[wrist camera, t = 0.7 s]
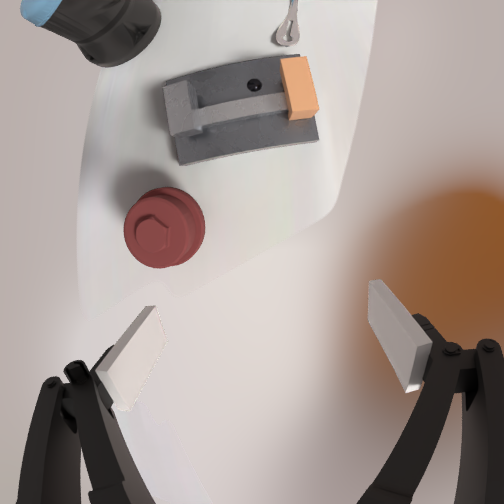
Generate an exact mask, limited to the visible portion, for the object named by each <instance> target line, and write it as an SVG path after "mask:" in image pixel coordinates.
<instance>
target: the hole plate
mask: <svg viewBox="0 0 504 504" xmlns="http://www.w3.org/2000/svg"><path fill="white" fill-rule="evenodd" d="M293 57H300V54H294V55H285V56H277V57H269V58H262V59H256V60H250V61H244V62H239V63H234V64H229V65H225V66H220V67H216V68H212V69H208V70H204V71H200V72H196V73H192V74H189V75H185V76H182V77H179V78H175V79H172V80H169V81H166V86H168V85H171V84H174V83H177V82H181V81H184V80H187V81H188V82H189V83H190V84H191V85H192V86H193V87H194V88H195V89H196V95H197V101H198V107H199V109H200V108H204V107H208V106H212V105H216V104H221V103H225V102H230V101H235V100H240V99H245V98H250V97H256V96H262V95H268V94H275V93H282V92H284V87H283V83H282V79H281V74H280V59H284V58H293ZM288 113H289V112H288ZM288 113H281V114H274V115H267V116H261V117H255V118H250V119H244V120H239V121H234V122H229V123H225V124H220V125H216V126H211V127H207V128H203V129H202V130H203V133H201V134H197V135H193V136H189V137H185V138H178V137H175V136H174V137H175V143H176V149H177V154H178V160H179V165H180V166H187V165H191V164H195V163H199V162H204V161H208V160H213V159H217V158H222V157H227V156H232V155H237V154H242V153H248V152H253V151H259V150H265V149H271V148H277V147H284V146H291V145H298V144H305V143H314V142H317V141H318V140H319V136H318V131H317V126H316V121H315V116H313V117H312V118H306V119H297V120H290V121H289V118H288Z"/></svg>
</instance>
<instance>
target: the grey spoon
mask: <svg viewBox="0 0 504 504" xmlns="http://www.w3.org/2000/svg"><path fill="white" fill-rule="evenodd" d="M297 6H298V0H292V2H291V5H290V8H289V12H288V15H287V17H286V18H285V20H284V21H283V22H282V23H281V25H280V27H279V28H278V30H277V33H276V40H277V42H278V43H279V44H281V45H283V46H286V47H289V46H294V45H296V44H297V42H298V41H299V37H300V31H299V25H298V22H297V11H298V10H297ZM289 20H290V21H293V24H292V29H291V33H290V36H291V37H292V38H293V40H292V41H289V42H287V41H284V40H283V36H285V35H286V30H287V26H288V21H289Z"/></svg>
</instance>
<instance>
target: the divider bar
mask: <svg viewBox="0 0 504 504" xmlns="http://www.w3.org/2000/svg"><path fill="white" fill-rule="evenodd" d="M163 91H164V98H165V105H166V112H167V118H168V124H169V130H170V135H171V136H175V137H178V138H185V137H189V136H193V135H197V134H201V133H203V130H202V129H203V128H207V127H211V126H216V125H220V124H225V123H229V122H234V121H239V120H244V119H250V118H255V117H261V116H267V115H274V114H281V113H288V112H289V110H288V106H287V101H286V96H285V92H282V93H275V94H268V95H262V96H256V97H250V98H245V99H240V100H235V101H230V102H225V103H221V104H216V105H212V106H208V107H204V108H200V109H199V107H198V101H197V95H196V89H195V88H194V87H193V86H192V85H191V84H190V83H189V82H188V81H187V80H184V81H181V82H177V83H174V84H171V85H168V86H165V87H163Z"/></svg>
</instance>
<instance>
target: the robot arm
mask: <svg viewBox="0 0 504 504" xmlns="http://www.w3.org/2000/svg"><path fill="white" fill-rule="evenodd" d="M20 10H21V15H22V16H23V17H24V18H25V19H26V20H28V21H30V22H32V23H33V24H35V26H38V27H42V28H45V29H47V30H49V31H52V32H54V33H56V34H58V35H60V36H62V37H65V38H67V39H69V40H71V41H73V42H75V43H76V44H77V45H78V47H79V49H80V50H81V52H82V53H83V55H84V56H85V57H86V59H87V60H89V61H90V62H92V63H94V64H96V65H98V66H101V67H113V66H117V65H120V64H123V63H125V62H127V61H129V60H131V59H132V58H134V57H135V56H137V55H138V54H139V53H140V52H142V51H143V50H144V49H145V48H146V47H147V46H148V45H149V43H150V42H151V41H152V40H153V38H154V37H155V35H156V33H157V31H158V29H159V27H160V23H161V12H160V9H159V8H158V6H157V5H156V4H155V3H154V2H153V1H152V0H22V2H21V8H20ZM368 322H369V324H370V325H371V327H372V329H373V331H374V333H375V334H376V336H377V338H378V340H379V342H380V344H381V346H382V347H383V349H384V351H385V353H386V355H387V357H388V359H389V361H390V363H391V364H392V367H393V368H394V370H395V372H396V374H397V376H398V378H399V380H400V382H401V384H402V386H403V388H404V390H405V393H408V392H411V391H414V390H417V389H420V387H421V384H422V381H424V382H425V384H424V387H423V389H422V391H421V394H420V396H419V399H418V401H417V403H416V406H415V407H414V410H413V412H412V414H411V416H410V418H409V420H408V423H407V424H406V426H405V428H404V430H403V432H402V434H401V436H400V438H399V440H398V442H397V444H396V445H395V447H394V449H393V451H392V453H391V454H390V456H389V458H388V460H387V461H386V463H385V464H384V466H383V468H382V469H381V471H380V473H379V474H378V476H377V477H376V479H375V480H374V482H373V483H372V484H371V485H370V486H369V488H368V489H367V490H366V491H365V493H364V494H363V496H362V497H361V498H360V500H359V501H358V502H357V504H410V503H411V501H412V497H413V494H414V492H415V490H416V488H417V487H418V485H419V483H420V481H421V479H422V477H423V475H424V473H425V471H426V468H427V466H428V464H429V462H430V460H431V457H432V455H433V453H434V450H435V448H436V445H437V443H438V440H439V438H440V435H441V432H442V430H443V427H444V424H445V421H446V418H447V415H448V412H449V409H450V406H451V402H452V399H453V395H454V393H462V445H461V459H460V468H459V476H458V484H457V490H456V496H455V501H454V504H504V357H503V354H502V350H501V347H500V345H499V343H497V342H496V341H495V340H492V339H482V340H481V341H479V342H478V344H477V347H476V349H468V350H463V349H462V348H461V346H459V345H458V344H456V343H453V342H446V340H445V339H444V338H443V337H442V336H441V334H440V333H439V332H438V331H437V330H436V329H435V328H434V326H433V325H432V324H431V323H430V321H429V320H428V319H427V318H426V317H424V316H422V315H421V314H419V313H418V314H414V315H411V314H410V313H409V312H408V311H407V309H406V308H405V307H404V306H403V305H402V303H401V302H400V301H399V300H398V299H397V298H396V296H395V295H394V294H393V293H392V292H391V291H390V289H389V288H388V287H387V286H386V285H385V284H384V282H383V281H382V280H381V279H378V280H372V281H369V303H368ZM167 342H168V340H167V337H166V334H165V332H164V329H163V326H162V323H161V320H160V317H159V314H158V311H157V307H156V306H146V307H145V308H144V309H143V310H142V312H141V313H140V314H139V315H138V316H137V318H136V319H135V320H134V321H133V322H132V324H131V325H130V326H129V328H128V329H127V330H126V331H125V332H124V334H123V335H122V336H121V338H120V339H119V340H118V341H117V343H116V344H115V345H112V346H111V347H110V348H108V349H107V350H106V351H105V353H104V354H103V356H102V357H100V359H99V360H98V361H97V363H96V364H95V365H94V366H93V368H92V369H91V370H90V372H89V370H88V368H87V366H86V365H85V363H84V362H83V361H82V360H76V361H73V362H71V363H69V364H68V365H67V366H66V367H65V368H64V373H65V375H66V377H67V379H68V380H69V382H70V383H65V384H63V383H62V381H61V380H60V378H59V377H56V376H55V377H50V378H49V379H47V380H46V381H45V382H44V383H43V385H42V387H41V390H40V394H39V397H38V400H37V403H36V406H35V410H34V413H33V417H32V421H31V425H30V428H29V433H28V437H27V441H26V446H25V451H24V456H23V461H22V468H21V474H20V480H19V489H18V499H17V502H16V504H81V488H80V462H81V461H80V460H81V459H80V458H81V448H82V452H83V456H84V460H85V464H86V468H87V471H88V474H89V478H90V481H91V484H92V488H93V491H89V493H88V496H89V500H90V503H91V504H156V503H155V502H154V500H153V498H152V496H151V495H150V493H149V491H148V489H147V487H146V485H145V483H144V481H143V479H142V477H141V475H140V473H139V471H138V469H137V467H136V465H135V463H134V461H133V459H132V456H131V454H130V452H129V450H128V447H127V445H126V443H125V440H124V438H123V435H122V433H121V430H120V428H119V425H118V422H117V419H116V417H115V414H114V411H113V410H112V408H111V406H112V404H113V402H114V404H115V405H116V407H117V408H118V410H122V411H129V412H130V411H131V409H132V408H133V406H134V404H135V402H136V400H137V398H138V396H139V394H140V392H141V390H142V388H143V387H144V384H145V383H146V381H147V379H148V377H149V375H150V373H151V371H152V370H153V368H154V366H155V364H156V362H157V360H158V359H159V357H160V355H161V353H162V351H163V349H164V347H165V345H166V344H167Z"/></svg>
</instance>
